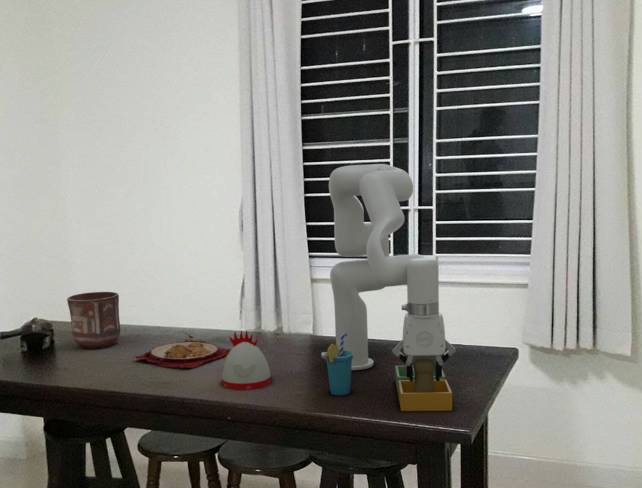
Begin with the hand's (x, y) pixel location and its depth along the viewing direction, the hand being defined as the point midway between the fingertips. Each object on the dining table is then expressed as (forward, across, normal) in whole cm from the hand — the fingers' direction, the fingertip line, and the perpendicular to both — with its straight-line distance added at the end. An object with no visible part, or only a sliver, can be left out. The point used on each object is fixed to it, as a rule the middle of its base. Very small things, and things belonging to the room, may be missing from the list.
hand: (424, 379), depth 189 cm
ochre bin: (+6, 0, 0) cm, 6 cm away
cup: (+7, -21, +11) cm, 25 cm away
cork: (+6, 0, 0) cm, 6 cm away
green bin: (+6, 0, +14) cm, 15 cm away
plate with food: (+6, -72, +51) cm, 88 cm away
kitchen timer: (+6, -48, +21) cm, 53 cm away
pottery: (+6, -109, +70) cm, 130 cm away
